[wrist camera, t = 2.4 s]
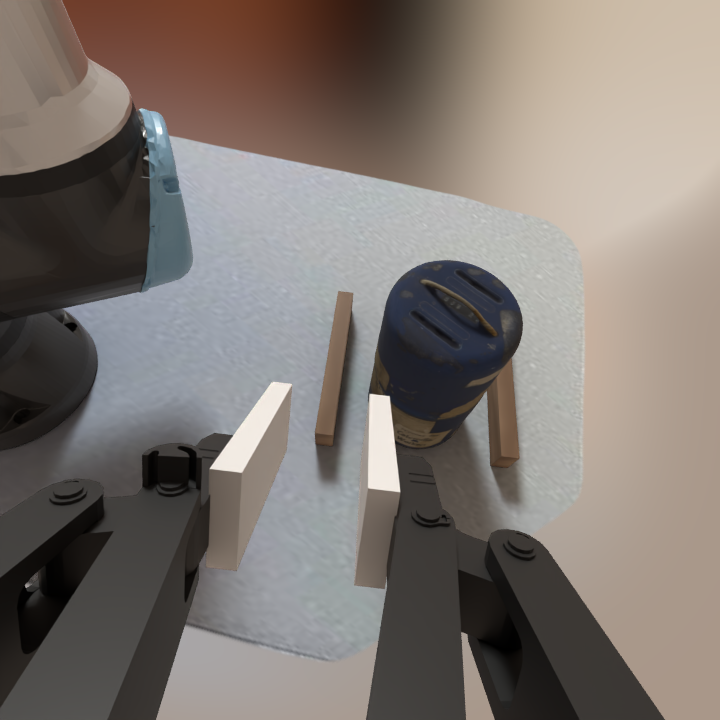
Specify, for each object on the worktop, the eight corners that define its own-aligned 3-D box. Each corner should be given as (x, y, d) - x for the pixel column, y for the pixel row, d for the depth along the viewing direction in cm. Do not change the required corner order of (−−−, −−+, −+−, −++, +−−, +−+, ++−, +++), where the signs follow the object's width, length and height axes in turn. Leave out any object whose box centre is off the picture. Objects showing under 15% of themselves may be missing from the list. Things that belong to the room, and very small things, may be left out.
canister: (422, 351, 47) (470, 223, 31) (480, 421, 43) (566, 316, 28) (347, 393, 44) (359, 275, 28) (403, 473, 40) (451, 387, 25)
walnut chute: (315, 444, 41) (314, 433, 38) (337, 308, 49) (338, 291, 46) (507, 467, 41) (519, 458, 39) (498, 328, 49) (507, 312, 47)
